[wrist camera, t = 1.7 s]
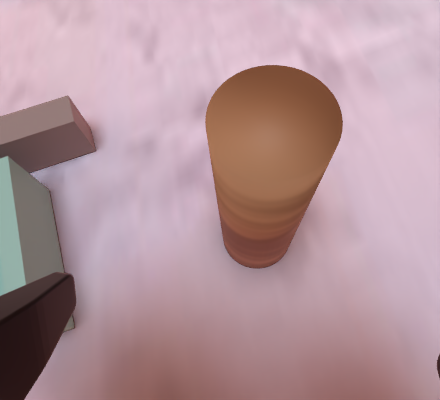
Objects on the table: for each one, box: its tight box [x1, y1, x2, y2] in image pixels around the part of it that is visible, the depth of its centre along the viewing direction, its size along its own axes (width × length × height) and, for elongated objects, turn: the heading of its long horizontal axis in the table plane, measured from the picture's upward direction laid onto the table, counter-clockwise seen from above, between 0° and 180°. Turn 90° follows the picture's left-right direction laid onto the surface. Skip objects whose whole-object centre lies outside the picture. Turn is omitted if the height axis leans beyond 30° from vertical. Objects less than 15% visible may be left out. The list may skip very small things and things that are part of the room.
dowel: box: [205, 65, 343, 268], centre depth 16 cm, size 4×4×12 cm
